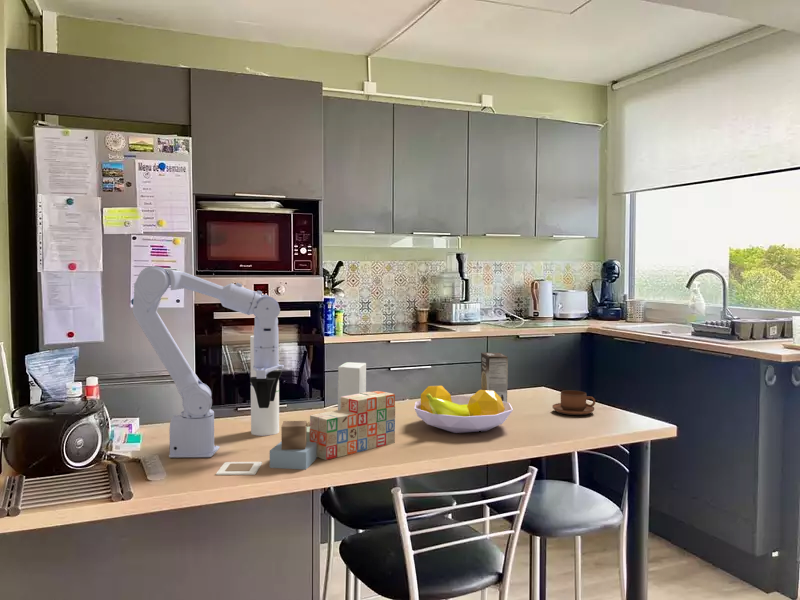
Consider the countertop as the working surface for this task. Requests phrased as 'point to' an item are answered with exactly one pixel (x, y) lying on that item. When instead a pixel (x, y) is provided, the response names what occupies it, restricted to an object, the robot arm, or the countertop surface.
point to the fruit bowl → (462, 410)
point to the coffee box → (494, 373)
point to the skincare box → (351, 379)
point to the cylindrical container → (263, 418)
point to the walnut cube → (294, 435)
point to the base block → (293, 457)
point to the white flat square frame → (239, 468)
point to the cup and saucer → (574, 403)
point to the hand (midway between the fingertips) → (266, 404)
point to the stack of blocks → (354, 425)
